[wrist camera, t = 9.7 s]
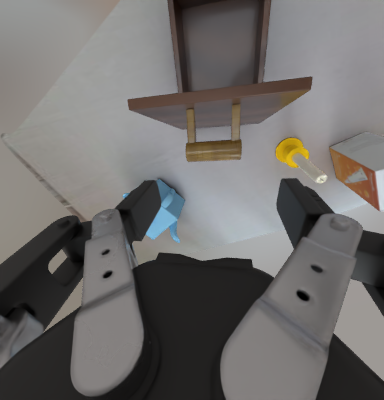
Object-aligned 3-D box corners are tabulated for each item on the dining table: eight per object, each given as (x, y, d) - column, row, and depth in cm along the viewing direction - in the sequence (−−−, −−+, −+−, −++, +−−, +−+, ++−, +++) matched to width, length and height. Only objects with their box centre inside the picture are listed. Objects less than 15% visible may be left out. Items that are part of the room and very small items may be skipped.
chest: (176, 5, 28) (165, -16, 22) (265, -15, 25) (275, -44, 20) (188, 122, 37) (182, 126, 31) (254, 116, 34) (259, 120, 29)
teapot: (153, 160, 43) (133, 179, 33) (204, 204, 47) (199, 231, 38) (125, 196, 51) (102, 220, 41) (171, 231, 55) (159, 259, 46)
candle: (306, 153, 36) (351, 186, 23) (281, 166, 38) (310, 202, 25) (296, 132, 34) (339, 155, 21) (271, 147, 37) (296, 176, 24)
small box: (327, 147, 35) (374, 171, 24) (366, 130, 32) (438, 149, 21) (335, 178, 38) (379, 213, 27) (371, 166, 35) (436, 198, 24)
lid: (127, 99, 14) (137, 165, 15) (313, 76, 11) (301, 159, 13) (181, 124, 31) (183, 155, 33) (259, 118, 28) (257, 151, 30)
